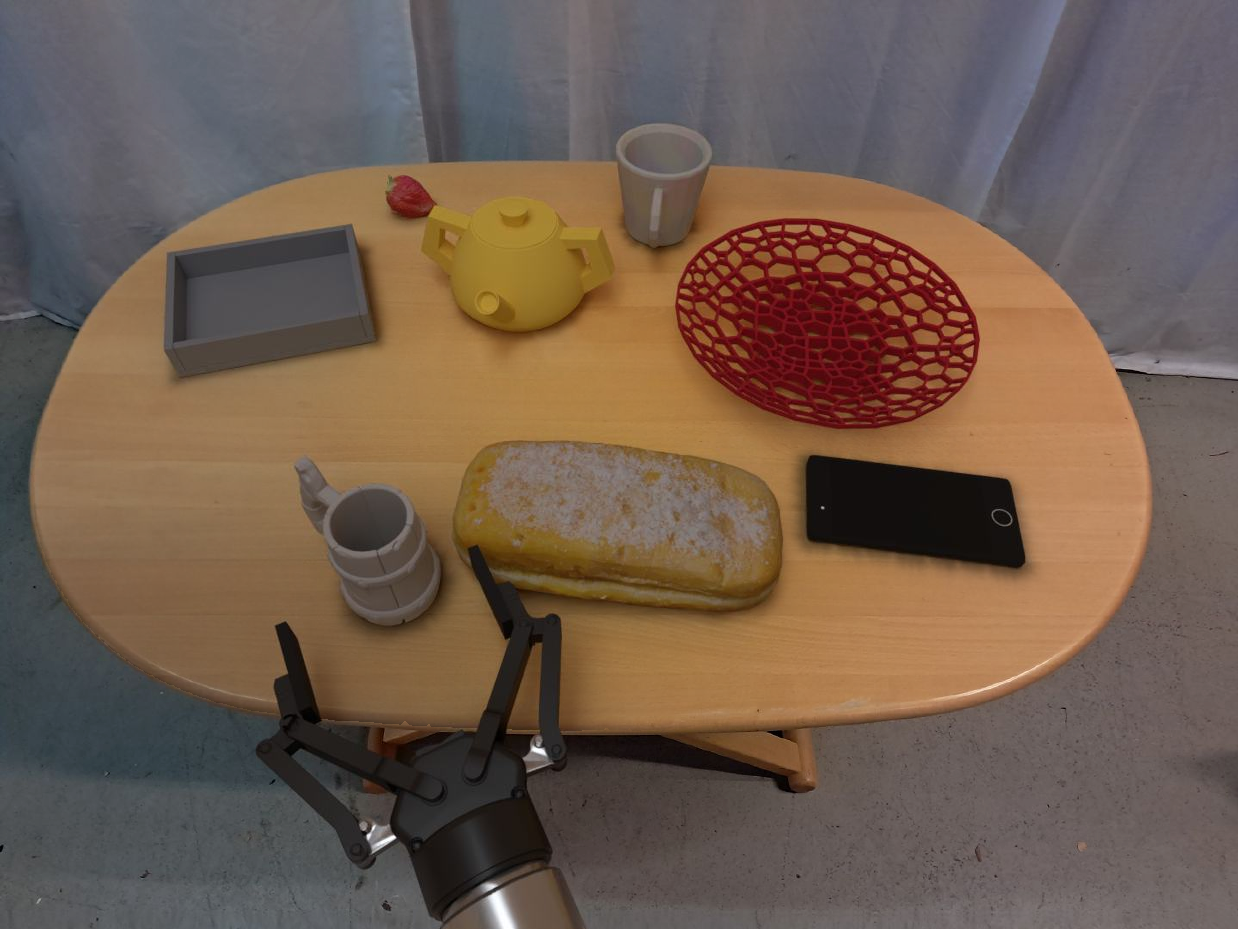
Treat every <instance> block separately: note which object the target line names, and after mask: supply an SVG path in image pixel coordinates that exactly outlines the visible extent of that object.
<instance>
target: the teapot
mask: <svg viewBox="0 0 1238 929" xmlns="http://www.w3.org/2000/svg"><path fill="white" fill-rule="evenodd" d="M446 232H448V233H451V234H453V235H455V236H458V240H457V242H456V243H455V245H454V244H453V243H451V241H448V240H447V239H446ZM583 249H586V253H587V256H588V260H589V262H588V263H586V259H585V255H584V252H583ZM420 252H422V253H423V254H424V255H425V256H426V257H427V258H429V259H430V260H431V261H432V262H433V263H435V264H436V265H437V266H438V267H439V268H441V269H442V270H443V271H445V272H446V274H448V275H449V282H450V289H451V294H452V296H453V298H454V300H455V302H456V303H457V305H458V306H459V308H460V309H461V310H462V311H463V312H464V313H465V314H467V315H468V316H469V317H471V318H472V319H473V320H475V321H477V322H479V323H481V324H483V325H485V326H487V327H490V328H493V329H496V330H499V331H504V332H510V333H511V332H512V333H524V332H526V333H527V332H535V331H539V330H543V329H545V328H548V327H551V326H552V325H554V324H556V323H558V322H560V321H561V320H563V319H564V318H566V317H567V316H568V315H569V314H571V312H573V311H574V310H575V309H576V308H577V307H578V306H579V304H580V303H581V301H582V300H583V298H584V295H585V294H586V293H589V292H590V291H592V290H594V289H595V288H597V287H599V286H600V285H603V284H604V283H606V282H608V281H610V280H611V279H612V278H613V274H614V271H615V269H616V264H615V262H614V258H613V256H612V253H611V250H610V248H609V245H608V242H607V239H606V236H605V234H604V231H603V228H602V227H580V226H579V227H576V226H575V227H571V226H570V227H569V226H568V225H567V223H566V222H565V221H564V220H563V218H562V217H561V216H560V215H559V214H558V213H557V212H556V211H555V209H553V208H552V207H551V206H549V205H548V204H546V203H545V202H542V201H540V200H539V199H538V200H537V199H535V198H530V197H526V196H506V197H501V198H496V199H494V200H491V201H489V202H487V203H485V204H484V205H482V206H480V207H479V208H478V209H477V210H476V211H475V212H474V214H473V215H472V216H470V215H467V214H464V213H461V212H458V211H455V210H452V209H449V208H447V207H443V206H440V205H438V204H437V205H435V206H434V207H433V209H432V211H431V212H430V213H428V215H427V219H426V224H425V229H424V234H423V238H422V244H421V248H420Z"/></svg>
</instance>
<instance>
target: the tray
mask: <svg viewBox="0 0 1238 929" xmlns="http://www.w3.org/2000/svg"><path fill="white" fill-rule="evenodd" d="M165 270H166V271H165V297H164V300H165V301H164V325H163V326H164V327H163V328H164V330H163V351H164V354H165V355H166V357H167V358H168V360H169V362H170V363H171V365H172V367H173V369H174V370H175V372H176V373H177V375H178V377H179V378H186V377H191V376H197V375H203V374H207V373H213V372H218V371H225V370H229V369H235V368H240V367H246V366H250V365H257V364H262V363H267V362H272V361H277V360H282V359H288V358H294V357H299V356H304V355H309V354H315V353H320V352H326V351H331V350H332V351H333V350H335V349H342V348H347V347H353V346H358V345H364V344H368V343H374V342H377V337H376V330H375V326H374V321H373V316H372V309H371V306H370V304H371V303H370V299H369V294H368V289H367V283H366V279H365V273H364V268H363V261H362V257H361V250H360V248H359V243H358V241H357V237H356V233H355V230H354V226H353V224H352V223H348V224H347V223H346V224H341V225H335V226H334V225H333V226H328V227H323V228H316V229H309V230H303V231H297V232H296V231H295V232H289V233H284V234H283V233H282V234H276V235H271V236H263V237H259V238H258V237H257V238H252V239H251V238H250V239H244V240H238V241H232V242H226V243H220V244H219V243H218V244H213V245H207V246H199V247H194V248H193V247H192V248H187V249H181V250H174V251H168V252H166V268H165Z"/></svg>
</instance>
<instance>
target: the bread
mask: <svg viewBox="0 0 1238 929" xmlns="http://www.w3.org/2000/svg"><path fill="white" fill-rule="evenodd" d="M452 515H453V516H452V532H451V537H452V542H453V545H454V548H455V549H456V551H457V553H458V556H459V557H460V558H461V559H462V560H463V562H464V563H465V565H467V567H469V568H470V569H471V570H472V571H473V572H474V570H473V568H472V565H471V561H470V556H469V552H468V548H470V547H472V546H475V545H477V544H478V547H479V549H480V551H481V553H482V555H483V557H484V559H485V561H486V564H487V566H488V568H489V570H490V572H491V574H492V576H493V578H494V581H495V583H496V584H498V585H500V584H502V583H504V582H507V581H509V582H511V583H512V584H513V585H514V587H515V589H519V590H524V591H531V592H532V591H533V592H538V593H539V592H540V593H549V594H552V595H556V596H563V597H566V598H568V599H569V598H576V599H581V600H595V601H608V602H612V603H613V602H615V603H620V604H627V605H634V606H643V607H647V608H652V607H660V608H663V609H664V608H665V609H677V610H679V609H680V610H695V611H712V612H736V611H742V610H747V609H751V608H753V607H756V606H759V604H761V603H762V602H763V601H764V600H766V598H767V597H768V596H769V595H770V594H771V593H772V592H773V590H774V589H775V587H776V586H777V584H778V582H779V577H780V572H781V569H782V565H783V546H784V535H783V528H782V519H781V510H780V506H779V502H778V500H777V498H776V496H775V494H774V493H773V491H772V490H771V488H770V487H769V485H768V484H767V482H766V481H765V480H763V479H762V478H761V477H760V476H758V475H756V474H754V473H753V472H750V471H748V470H746V469H743V468H740V467H738V466H735V465H732V464H729V463H725V462H722V461H718V460H715V459H710V458H707V457H700V456H696V455H692V454H691V455H690V454H678V453H673V452H665V451H657V450H652V449H646V448H640V447H634V446H633V447H632V446H631V445H628V446H627V445H625V444H622V445H621V444H612V443H603V442H587V441H579V440H504V441H499V442H494V443H491V444H488V445H486V446H484V447H483V448H482V449H481V450H480V451H479V452H477V453H476V455H475V456H474V458H473V459H472V460H471V461H470V462H469V464H468V465H467V467H466V469H465V471H464V474H463V477H462V479H461V483H460V488H459V491H458V497H457V500H456V504H455V508H454V512H453V514H452Z"/></svg>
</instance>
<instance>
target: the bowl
mask: <svg viewBox="0 0 1238 929" xmlns="http://www.w3.org/2000/svg"><path fill="white" fill-rule="evenodd" d="M779 226H781V227H780V228H781V229H780V230H775V231H769V232H768V230H767V229H766V228H772V227H779ZM786 226H806V227H805V228H806V229H805V230H802V231H798V232H793V231H788V230H786ZM811 226H818V227H822V229H823V231H824V232H825V234H826V235H825V236H823V235H818V234H815V233H814V232H813V231H811V230H810V229H811ZM832 229H835V230H842V231H843V233H841V232H837V231H833V230H832ZM756 230H759V232H760V233H761V235H759V236H758V237H754V236H753V237H752V236H744V235H743V234H744V233H748V232H751V231H756ZM849 233H854V234H858V235H860V236H864V237H868V238H871V239H870V242H861V241H857V240H855V239H853V238H852V237H850V236H848V234H849ZM735 236H736V238H737V239H736V240H734V239H733V237H735ZM805 237H808V238H805ZM772 239H773V240H772ZM774 239H778V240H774ZM786 239H789V240H795V241H796V242H795V243H794V244H793V243H790V242H789V241H787V240H786ZM876 240H877V241H879V242H881V243H883V244H886V245H888V246H890V247H892V248H894V250H893V251H885V250H881V249H879V247H877V246H875V245H874V244H875V241H876ZM764 241H765V243H766V244H765V245H763V244H761V243H762V242H764ZM724 242H727V243H728V245H729V246H730V247H729V248H728V250H717V249H716V247H717V246H719V245H722V243H724ZM842 242H843V243H846V244H848V245H850V246H853V247H854V249H855V250H853V251H851V252H849V253H848V252H846V251H844V250H842V249H840V248H839V247H838V245H839V244H841V243H842ZM740 244H747V245H754V246H755V247H754V248H753V249H752V250H743V249H742V248H741V247H740V246H739V245H740ZM824 245H830V246H831V247H832V248H827V249H825V247H824ZM780 246H781V247H783V248H784V249H786V250H787V251H788V252H790V254H791V257H790V256H783V255H778V254H777V253H776V251H775V250H774V249H776V248H778V247H780ZM809 246H810V247H813V248H816V249H817V250H818V251H819V253H818V254H817V255H816V256H815V257H814V258H813V259H806V258H799V257H798V255H797V250H798V249H799V248H800V247H809ZM899 251H901V252H904V253H905V254H906V255H904V254H902V253H898V252H899ZM708 252H709V253H711V254H713V255H714V256H715V258H716V260H714V261H713V262H712V261H711V260H710V259H709V258H708V257H707V255H706V253H708ZM733 252H735V253H736V254H738V255H739V257H740V258H741V260H740V263H739V264H738V265H737V266H736V267H735V266H734V264H732V263H731V262H730V261H729V256H730V255H731V254H732V253H733ZM758 253H768V254H769V256H770V257H771V260H769V261H768V262H765V261H764V260H763V261H762V260H760V259H757V258H756V257H755V255H757V254H758ZM829 256H839V257H840V258H842V259H844V260H846V261H847V262H848V263H849V265H850V267H849V268H847V270H844V271H843V272H835V271H822V270H821V269H820V268H819V266H818V265H817V264H818V263H820V261H821V260H822V259H823V258H824V257H829ZM858 256H860V257H861V256H862V257H867V258H868V259H869V260H870V261H871V262H872V263H871V265H870V267H869V266H865V265H860V264H857V262H856V261H855V258H856V257H858ZM911 257H912V258H914V259H915V260H917V261H918V262H920V263H921V264H923V265H924V266H926V267H927V268H928V270H927V273H926V272H924V271H921V270H919V269H916V268H915V267H914V265H913V263H912V262H911V260H910V258H911ZM700 259H701V260H702V262H703V264H705V266H706V267H707V268H706V269H704V268H701V267H699V264H698V261H699V260H700ZM893 260H894V261H897V262H901V263H903V264H904V266H905V269H907V271H908V272H907V273H906V274H904V273H899V272H895V271H894V269H893V267H892V264H891V263H892V261H893ZM776 264H778V265H779V264H780V265H783V266H784V265H785V266H789V267H793V268H794V272H795V273H792V274H789V275H786V276H775V275H774V276H772V275H770V270H769V269H771V268H772V267H774V266H775V265H776ZM877 265H880V266H883V267H884V268H885V270H886V271H887V274H888V275H885V276H884V277H882V276H881V275H880V273H879V272H878V271H877V270H876V269H875V268H876V266H877ZM718 266H723V267H727V268H728V271H730V272H729V273H727V274H725V275H724V274H723V273H722V272H721V271H720V270H719V269H718V268H717V267H718ZM751 266H753V267H755V268H758V269H759V270H761V271H763V277H762V276H761V277H759V278H755V279H752V280H750V279H748V278H747V277H746V275H744V274H742V272H741V269H742V268H745V267H751ZM802 268H805V269H810V270H811V271H803V269H802ZM932 272H933V273H934V274H935V275H936V276H937V277H938V278H940V280H942V281H941V282H940V281H938V280H937V278H934V277H933V276H932V275H931V274H932ZM710 273H712V274H713V275H714V276H715V277H716V278H717V279H718V282H717V283H716V284H715V285H712V284H711V283H710V282H709V281H708V280H707V275H709V274H710ZM854 273H856V274H863V275H869V277H870V278H871V279H872V281H873V282H875V283H873V284H872V285H870V286H867V285H864V284H860V283H858V282H855V281H854V280H853V279H852V278H851V277H850V276H852V275H853V274H854ZM688 274H689V275H690V279H691V281H690V282H689V283H688V282H687V283H686V282H685V280H686V278H687V276H688ZM696 274H698V275H701V276H702V280H701V281H700V282H699V281H698V280H696V279H695V275H696ZM911 277H915V278H916V279H920V280H921V281H923V282H922V283H917V284H914V283H913V281H912V280H911V279H910V278H911ZM733 279H736V280H737V281H738V282H739V283H740V285H739V286H737V285H736V284H735V283H734V282H732V280H733ZM890 280H893V281H897V282H902V283H903V284H904V286H905V288H902V289H898V290H895V289H894V287H893V286H891V285H890V284H889V283H888V282H890ZM812 282H817V283H812ZM829 282H830V283H829ZM831 282H833V283H835V282H836V283H841V284H842V285H843V286H839V287H837V286H835V285H834V284H831ZM797 283H799V286H800V288H794V289H793V288H790V287H789V286H791V285H794V284H797ZM927 283H928V285H929V286H928V285H927ZM723 287H726V288H727V289H728V290H729V291H730V292H731V293H732V294H731V295H722V294H721V293H720V290H721V289H722V288H723ZM763 287H766V288H767V290H759V289H760V288H763ZM948 287H949V288H950V289H949V288H948ZM704 288H706V290H708V291H707V292H706V293H703V292H702V291H700V290H701V289H704ZM758 288H759V289H758ZM879 289H880V290H881V291H882V292H883V293H885V294H881V293H879V292H878V291H879ZM681 290H688V291H689V292H690V293H692V295H690V294H687V293H683V292H681ZM937 291H938V292H940V293H942V294H943V296H940V295H939V296H938V294H937V293H936V292H937ZM747 292H749V294H750V295H751V296H752V298H750V297H748V296H746V295H745V294H744V293H747ZM821 293H823V294H821ZM909 294H912V295H915V296H917V297H919V298H921V299H922V301H923V302H924V304H925V305H926V306H925V307H922V308H921V309H916V308H913V307H910V306H907V304H906V302H905V301H904V300H903V298H902V297H905V296H908V295H909ZM777 295H782V296H783V297H781V298H780V297H779V298H778V297H777ZM675 296H676V297H675V302H674V303H675V304H674V308H675V316H676V321H677V327H678V330H679V332H680V335H681V338H682V340H683V341H684V342H685V344H686V346H687V348H688V350H689V351H690V353H691V354H692V356H693V358H694V359H695V360H696V361H697V363H698V364H699V365H700V366H701V367H702V368H703V369H704V370H705V371H706V373H707V374H708V375H709V376H710V377H711V378H712V379H714V380H715V381H716V382H718V383H719V384H720V385H721V386H722V387H724V388H725V389H726V390H728V391H729V392H730V393H732V394H733V395H734V396H736V397H738V398H740V399H742V400H743V401H745V402H747V403H749V404H751V405H753V406H755V407H757V408H759V409H760V410H762V411H765V412H768V413H771V414H774V415H777V416H779V417H782V418H785V419H787V420H791V421H793V422H797V423H801V424H803V423H804V424H808V425H814V426H819V427H823V428H828V429H834V430H863V429H864V430H871V429H873V430H875V429H882V428H887V427H891V426H896V425H901V424H906V423H911V422H913V421H915V420H917V419H920V418H921V417H924V416H925V415H927V414H930V413H932V412H933V411H936V410H937V409H939V408H942V407H943V406H944V405H945V404H946V403H948V402H949V401H950V400H951V399H952V398H954V396H956V395H957V394H958V393H959V392H961V390H962V389H963V387H964V386H965V385H966V383H968V382H969V379H970V378H971V376H972V373H973V371H974V370H975V367H976V365H977V362H978V357H979V349H980V342H981V336H980V332H979V326H978V321H977V316H976V314H975V313H974V311H973V309H972V308H971V306H970V304H969V303H968V300H967V299H966V297H965V296H964V294H963V292H962V291H961V289H960V288H959V286H958V284H957V282H956V281H954V280H953V279H952V278H951V277H950V276H949V275H948V274H947V273H946V272H945V271H944V270H943V269H942V268H941V267H940V266H939V265H938V264H937V263H936V262H934V261H933V260H931V259H930V258H928V257H927V256H925V255H924V254H923V253H921V252H919V251H918V250H916V249H915V248H913V247H912V246H910V245H908V244H906V243H903V242H901V241H899V240H896V239H895V238H891V237H890V236H887V235H885V234H883V233H880V232H878V231H874V230H872V229H868V228H865V227H861V226H858V225H854V224H851V223H846V222H841V221H840V222H839V221H834V220H827V219H822V218H814V217H813V218H809V217H807V218H805V217H804V218H801V217H800V218H797V217H796V218H795V217H793V218H792V217H785V218H784V217H783V218H777V219H776V218H775V219H768V220H760V221H757V222H754V223H750V224H747V225H743V226H740V227H737V228H734V229H731V230H729V231H728V232H726V233H724V234H723V235H721V236H719V237H718V238H715V239H714V240H713V241H711V242H709V243H708V244H706V245H704V246H703V247H701V248H700V249H699V251H697V252H696V253H695V255H694V256H693V257H692V258H691V259H690V260H689V262H688V263H687V265H686V266H685V268H684V270H683V273H682V275H681V277H680V279H679V281H678V283H677V288H676V295H675ZM950 296H955V297H956V299H957V300H958V302H959V304H960V305H956V304H955V303H954V302H952V301H951V300H950V299H949V297H950ZM712 297H714V298H715V300H717V301H718V303H716V302H715V301H713V300H712V299H711V298H712ZM845 298H848V299H850V300H848V299H845ZM865 298H868V299H870V300H872V301H874V302H875V303H876V306H875V307H873V308H871V309H867V310H865V309H864V308H863V307H861V306H860V305H859V304H858V303H857V302H859V301H861V300H863V299H865ZM679 300H682V301H685V302H689V303H691V306H692V308H689V309H688V308H686V307H685V306H684V305H682V304H681V303H680V302H679ZM892 301H893V303H894V305H895V306H896V308H897V309H898V310H899V312H900V314H899V315H894V314H893V315H891V314H887V313H886V312H885V311H884V310H883V309H882V308H881V305H883V304H886V303H889V302H892ZM764 302H766V303H764ZM697 303H698V304H699V303H705V304H706V305H707V306H708V307H709V308H711V309H712V311H713V312H714V313H715V314H714V318H713V319H711V318H707V317H704V316H702V315H701V313H700V312H699V311H698V310H697V306H696V305H697ZM727 304H729V305H730V304H731V305H733V306H734V307H735V308H736V309H737V311H736V312H734V313H733V312H731V311H729V310H727V309H724V308H722V306H723V305H727ZM939 304H943V305H944V306H945V307H946V308H945V307H943V306H941V305H939ZM812 306H815V307H817V308H820V309H818V310H817V309H814V308H812ZM743 307H744V308H746V309H744V308H743ZM821 309H824V310H821ZM928 311H932V312H934V313H936V314H939V315H941V319H942V320H943V322H941V323H939V324H933V323H930V322H926V321H925V320H924V316H923V314H924V313H926V312H928ZM951 312H953V313H959V314H965V315H966V316H967V318H968V319H966V320H963V321H961V320H957V319H952V318H949V315H948V314H949V313H951ZM681 313H682V314H684V315H685V316H686V317H687V319H688V320H689V322H690V324H689V326H688V325H686V324H684V323H683V322H682V318H681ZM693 316H695V317H696V319H698V320H699V322H700V323H699V322H696V321H695V320H694V318H693ZM904 316H909V317H913V318H916V323H914V324H912V325H908V324H907V323H906V320H905V319H904ZM719 317H722V319H723V318H724V319H725V320H727V321H729V322H730V323H732V325H733V327H734V329H735V330H736V331H737V335H730V336H729V335H728V336H727V335H726V334H725V332H724V331H723V329H722V328H721V326H720V325H719V322H718V321H719ZM873 319H875V320H876V321H873ZM742 320H743V321H745V322H747V323H750V324H752V327H751V326H745V325H743V324H742V323H741V322H740V321H742ZM706 326H707V327H710V328H713V329H714V331H715V332H716V334H717V336H714V335H713V333H711V331H709V329H708V328H707V327H706ZM759 326H763V327H769V328H770V329H772V330H773V331H775V332H773V333H770V332H767V331H764V330H762V329H760V328H759ZM892 326H896V327H895V328H894V327H892ZM946 326H947V327H951V328H956V329H960V331H958V332H957V333H955V334H954V335H945V333H944V332H943V330H942V329H943V328H945V327H946ZM968 326H970V327H968ZM694 329H696V330H698V331H700V332H702V333H703V334H704V335H705V337H707V338H708V340H710V342H711V345H707V344H705V343H703V342H701V341H700V340H699V339H698V337H697V336H696V334H695V333H694V331H693V330H694ZM919 330H921V331H922V330H923V331H926V332H931V333H934V334H936V335H937V337H938V339H939V340H938V342H937V344H927V343H918V342H917V340H916V338H915V336H914V334H913V333H915V332H917V331H919ZM809 333H810V334H811V333H813V334H816V335H808V334H809ZM854 334H867V336H868V338H866V339H864V338H857V337H852V335H854ZM964 335H972V338H973V339H972V340H969V341H968V342H966V343H956V341H957V340H958V339H960V338H961V337H962V336H964ZM850 336H851V337H850ZM743 337H745V338H748V339H750V340H751V341H750V342H747V341H746V340H745V339H744V338H743ZM901 337H902V338H903V339H904V340H905V343H906V344H907V346H904V347H902V346H901V347H900V346H895V345H890V344H888V342H887V341H886V340H887V339H890V338H891V339H892V338H901ZM716 345H721V346H724V347H725V349H726V351H727V352H728V353H729V354H724V352H721V351H720V350H718V349H717V348H716ZM734 345H735V346H738V347H739V348H740V349H742V350H743V351H744V352H746V354H747V356H748V358H747V357H744V356H741V355H739V353H738V352H737V351H736V348H734ZM694 346H695V347H697V349H698V350H699V352H700V353H698V352H697V351H696V349H695V348H694ZM874 347H875V348H876V349H877V350H878V351H877V350H874V349H872V348H874ZM971 347H973V350H972V356H967V355H966V353H964V351H965V350H967V349H969V348H971ZM817 349H821V350H819V351H818V350H817ZM941 352H949V354H948V355H941ZM918 353H934V356H932V357H928V358H923V357H922V356H920V355H918ZM709 354H711V355H712V356H710V355H709ZM886 356H891V357H895V358H896V357H897V358H898V360H897V361H895V362H883V361H882V359H883V358H884V357H886ZM953 357H958V358H960V359H961V360H962V361H951V360H950V359H951V358H953ZM824 359H825V360H824ZM826 360H828V361H826ZM829 361H830V362H829ZM910 362H913V363H914V364H916V365H917V368H913V369H907V370H902V369H901V368H900V366H902V365H903V364H905V363H910ZM730 363H732V364H737V365H738V366H739V367H740V369H742V370H743V371H744V372H743V371H741V370H738V369H737V368H734V367H732V365H730ZM869 363H872V364H869ZM933 364H938V365H939V366H941V367H943V369H942V370H941V372H940V373H937V374H936V373H935V374H929V373H927V372H925V371H924V370H923V367H925V366H929V365H933ZM968 364H971V365H968ZM709 365H710V366H709ZM948 369H960V370H962V371H964V372H965V373H967V374H966V376H964V377H958V378H952V377H950V376H949V375H948V374H947V373H946V372H947V370H948ZM889 373H890V374H891V375H890V376H888V377H886V376H885V375H883V374H889ZM911 377H915V378H916V379H919V380H920V381H922V384H920V385H918V386H915V387H912V388H911V387H902V386H901V387H900V386H895V385H894V384H893V383H894V382H896V381H897V380H900V379H905V378H911ZM752 380H755V381H757V382H758V383H759V384H761V385H762V386H764V387H761V386H759V385H758V384H756V383H754V382H753V381H752ZM935 380H941V381H942V382H943V383H945V385H944V386H943V387H933V388H929V387H928V386H927V383H928V382H932V381H935ZM814 381H819V382H821V383H822V384H816V382H814ZM954 384H959V385H954ZM952 385H954V386H952ZM765 387H766V388H765ZM775 388H777V389H778V388H779V389H783V390H786V391H787V392H790V393H792V394H795V395H798V396H800V397H803V398H804V399H797V398H791V397H788V396H787V395H784V394H782V393H780V392H777V391H776V389H775ZM882 389H884V390H882ZM943 394H947V395H946V397H944V398H943V399H939V397H940V396H941V395H943ZM891 395H902V396H903V395H904V396H910V397H907V398H905V399H892V398H891V397H889V396H891ZM929 395H931V396H929ZM839 396H841V397H845V398H841V397H839ZM815 400H823V401H826V402H828V403H825V402H820V401H815ZM874 401H878V402H880V403H882V404H883V405H877V406H876V405H875V406H871V405H868V404H865V403H868V402H874ZM916 401H921V403H919V404H917V405H910V404H912V403H914V402H916ZM930 404H931V406H929V407H928V408H925V409H924V410H922V408H924V407H926V406H928V405H930ZM790 405H791V406H798V407H804V408H810V409H811V410H812V411H806V410H801V409H797V408H793V407H791V406H790ZM852 405H856V406H852ZM845 406H852V407H845ZM894 406H897V407H894ZM892 407H894V408H892ZM862 411H863V412H862ZM902 411H903V412H904V411H905V412H906V411H907V412H914V413H915V414H913V415H909V416H907V417H906V416H898V415H893V414H895V413H898V412H902ZM866 412H867V413H866ZM836 413H842V414H849V415H851V416H853V417H841V416H840V415H838V414H836Z"/></svg>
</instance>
